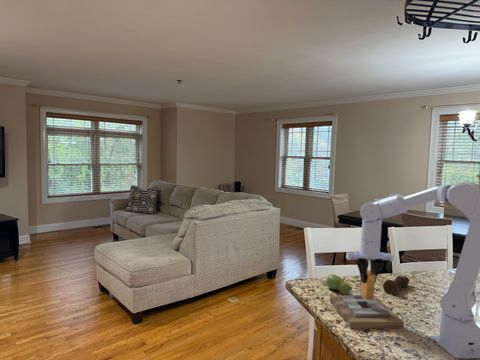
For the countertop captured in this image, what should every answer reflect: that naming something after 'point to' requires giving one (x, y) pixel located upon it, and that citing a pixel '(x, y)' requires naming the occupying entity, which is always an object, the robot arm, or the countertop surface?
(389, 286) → the bolt
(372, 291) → the notched wooden block
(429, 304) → the countertop surface
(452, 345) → the robot arm
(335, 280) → the pear
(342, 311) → the brown grey stepped board
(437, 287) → the countertop surface
